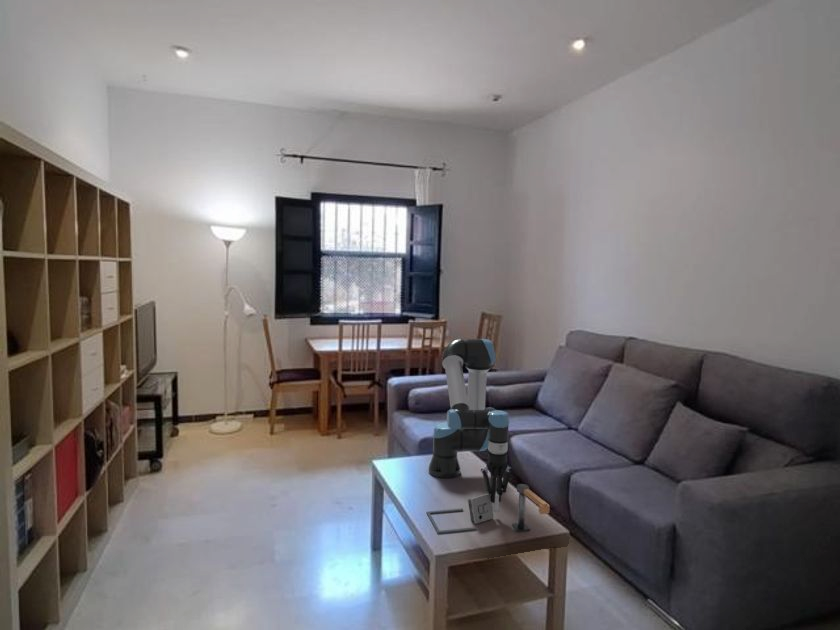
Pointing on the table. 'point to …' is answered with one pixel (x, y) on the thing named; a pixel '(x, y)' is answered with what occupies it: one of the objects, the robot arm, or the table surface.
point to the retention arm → (534, 498)
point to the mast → (521, 515)
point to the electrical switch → (480, 508)
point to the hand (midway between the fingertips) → (495, 509)
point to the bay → (447, 530)
